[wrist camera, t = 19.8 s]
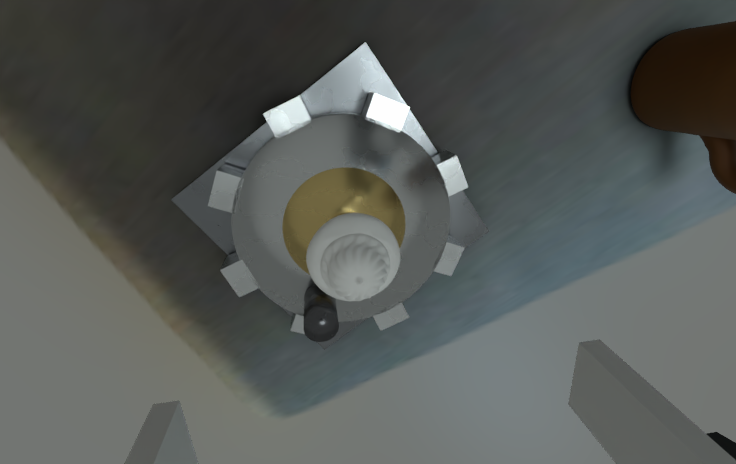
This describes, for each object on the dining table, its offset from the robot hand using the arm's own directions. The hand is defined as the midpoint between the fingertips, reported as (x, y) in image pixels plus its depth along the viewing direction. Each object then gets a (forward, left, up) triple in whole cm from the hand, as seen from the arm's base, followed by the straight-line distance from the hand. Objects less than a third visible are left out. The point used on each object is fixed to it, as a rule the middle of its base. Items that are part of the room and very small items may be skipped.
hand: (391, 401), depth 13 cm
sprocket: (0, 0, -19) cm, 19 cm away
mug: (+10, +27, -21) cm, 35 cm away
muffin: (+1, 0, -17) cm, 17 cm away
